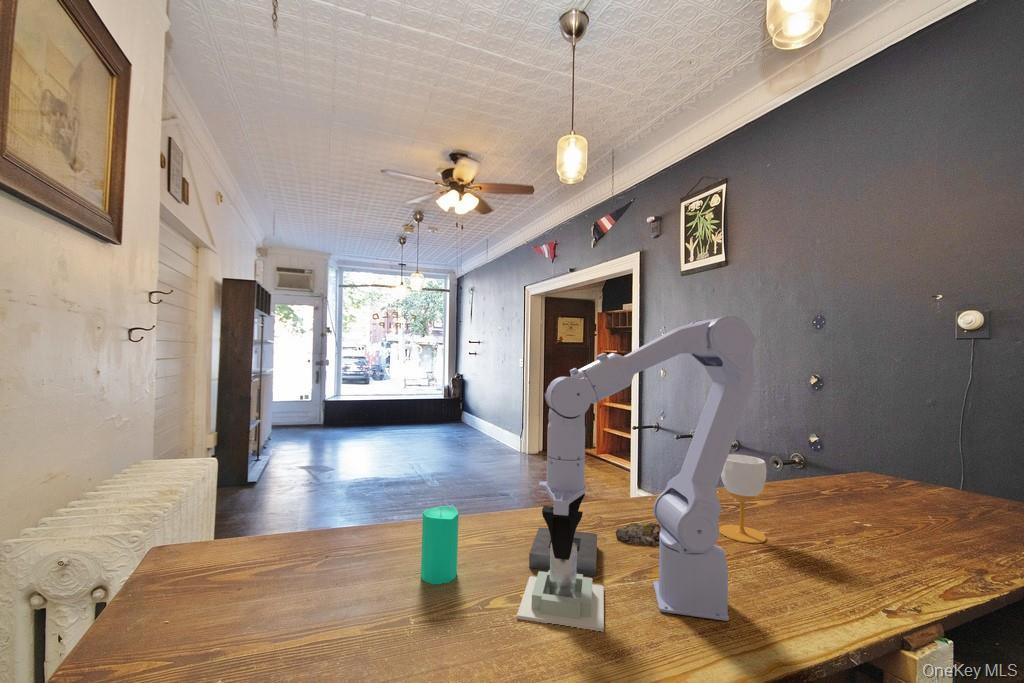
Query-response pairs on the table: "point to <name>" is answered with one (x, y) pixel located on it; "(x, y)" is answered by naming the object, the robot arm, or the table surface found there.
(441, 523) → the candle
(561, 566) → the smooth metal cylinder
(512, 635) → the table surface
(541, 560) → the socket block
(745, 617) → the table surface
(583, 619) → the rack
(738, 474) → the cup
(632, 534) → the mineral rock
